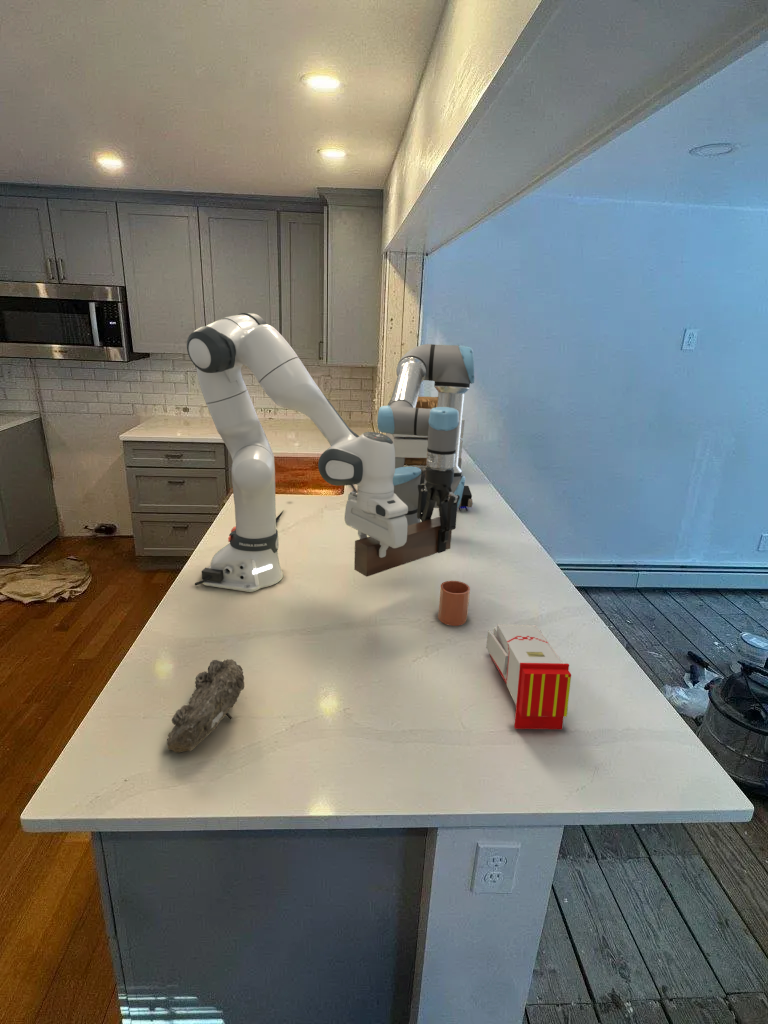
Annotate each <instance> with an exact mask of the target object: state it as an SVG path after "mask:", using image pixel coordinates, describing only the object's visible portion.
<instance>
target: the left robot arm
mask: <svg viewBox="0 0 768 1024" xmlns="http://www.w3.org/2000/svg"><path fill="white" fill-rule="evenodd" d="M186 351H187V355H188V357H189V359H190V361H191V363H192V364H193V365H194V366H195V369H196V375H197V380H198V383H199V388H200V391H201V394H202V397H203V399H204V402H205V404H206V406H207V409H208V411H209V414H210V416H211V419H212V421H213V424H214V427H215V429H216V431H217V433H218V434H219V437H221V439H222V441H223V443H224V445H225V447H226V449H227V451H228V453H229V455H230V457H231V458H230V459H231V461H232V462H231V463H232V464H231V484H232V494H233V502H234V518H235V526H233V527H232V528H231V530H230V533H229V535H228V538H227V539H228V540H227V542H228V543H227V544H226V545H225V546H224V547H222V548H220V549H219V550H218V551H217V552H215V553H214V555H213V557H212V559H211V562H210V566H208V567H205V568H203V569H202V570H201V580H200V581H197V582H194V585H195V586H198V585H201V584H202V585H204V586H207V587H213V588H221V589H226V590H234V591H239V592H240V591H241V592H246V593H253V592H256V591H258V590H261V589H263V588H268V587H271V586H274V585H276V584H278V583H279V582H280V581H281V580H283V577H284V573H283V571H282V567H281V564H280V558H279V552H278V551H279V545H280V543H279V532H278V529H277V523H276V518H277V504H276V499H277V498H276V465H275V463H276V462H275V454H274V452H273V449H272V446H271V443H270V441H269V439H268V436H267V434H266V432H265V430H264V427H263V426H262V425H263V424H262V422H261V421H260V418H259V416H258V414H257V411H256V409H255V405H254V403H253V400H252V398H251V394H250V393H249V390H248V386H247V385H246V382H245V380H244V378H243V374H242V367H243V366H245V367H247V368H248V369H249V370H250V372H251V373H252V374H253V377H254V378H255V379H256V381H257V382H258V384H259V385H260V387H261V389H262V390H263V391H264V393H265V394H266V395H267V396H268V398H270V399H271V400H272V402H274V403H275V404H276V406H279V407H281V408H283V409H287V410H293V411H296V412H299V413H301V414H303V415H305V416H306V417H307V418H308V419H310V420H311V421H312V422H313V424H314V425H315V426H316V427H317V429H318V430H319V431H320V433H321V434H322V436H323V437H324V438H325V440H326V441H327V443H329V447H328V448H326V449H325V450H324V451H323V452H322V453H321V454H320V457H319V459H318V462H317V468H318V473H319V474H320V477H321V478H322V479H323V480H324V481H325V482H326V483H328V484H330V485H331V486H336V487H337V486H339V487H340V486H351V485H353V486H355V485H356V486H357V489H356V491H357V492H356V491H354V490H352V491H350V492H349V494H348V496H347V501H346V503H345V510H344V522H345V525H346V526H348V527H350V528H352V529H354V530H356V531H357V535H358V538H359V539H363V538H366V537H372V538H374V539H376V540H378V541H380V545H381V547H380V549H378V550H377V556H379V557H381V558H382V557H385V556H386V550H387V548H388V547H389V546H390V547H392V548H398V547H401V546H403V545H404V544H405V543H406V541H407V519H406V517H405V515H404V514H407V513H408V506H407V505H406V504H405V503H404V502H403V501H401V500H400V499H399V498H398V496H397V495H396V494H395V493H394V485H393V476H394V473H395V448H394V443H393V441H392V440H391V439H390V438H389V437H388V436H386V434H385V433H382V432H376V431H365V432H363V433H362V434H361V435H359V434H357V433H356V432H354V431H353V430H352V429H351V428H350V427H349V426H348V424H347V423H346V422H345V421H344V419H343V417H342V416H341V415H340V413H339V412H338V411H337V409H336V408H335V407H334V406H333V404H332V403H331V402H330V400H329V399H328V398H327V397H326V395H325V394H324V393H323V392H322V390H321V389H320V387H319V386H318V384H317V383H316V382H315V380H314V379H313V377H312V376H311V374H310V372H309V371H308V370H307V368H306V367H305V365H304V363H303V361H302V360H301V359H300V357H299V356H298V354H297V353H296V351H295V350H294V349H293V348H292V346H291V345H290V344H289V342H288V341H287V340H286V339H285V337H284V336H283V335H282V334H281V333H280V332H279V331H278V330H277V329H276V328H275V327H274V326H272V325H270V324H268V323H267V322H266V321H265V319H264V318H263V317H261V315H258V314H257V313H253V312H240V313H238V314H235V315H229V316H225V317H222V318H219V319H218V320H215V321H213V322H211V323H209V324H207V325H203V326H200V327H198V328H196V329H195V330H193V331H192V332H191V333H190V334H189V335H188V337H187V339H186Z"/></svg>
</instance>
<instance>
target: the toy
mask: <svg viewBox="0 0 768 1024" xmlns="http://www.w3.org/2000/svg"><path fill="white" fill-rule="evenodd" d="M486 636H487V637H486V638H487V639H486V644H485V645H486V646H485V649H486V650H487V652H488V653H489V656H490V658H491V660H492V661H493V663H494V665H495V667H496V669H497V670H498V672H499V674H500V676H501V678H502V679H503V681H504V683H505V684H506V687H507V689H508V691H509V694H510V696H511V698H512V700H513V702H514V704H515V715H514V730H563V723H564V717H565V718H566V717H567V716H568V709H569V699H570V692H571V691H570V690H571V682H572V681H571V680H572V673H571V671H569V670H570V669H569V668H570V664H569V663H564V662H563V661H562V659H561V658H560V657H559V655H558V654H557V652H556V651H555V650H554V648H553V647H552V646H551V644H550V643H549V641H548V640H547V638H546V637H545V636H544V634H543V633H542V631H541V630H540V629H539V628H538V626H537V625H536V624H498V623H497V625H496V626H493V631H492V630H488V631H487V635H486Z"/></svg>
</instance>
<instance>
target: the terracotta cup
mask: <svg viewBox="0 0 768 1024" xmlns="http://www.w3.org/2000/svg"><path fill="white" fill-rule="evenodd" d="M470 594H471V587H470V586H469V585H468V584H467V583H465V582H463V581H459V580H446V581H444V582H442V583H441V584H440V588H439V599H438V609H437V610H438V612H437V619H438V621H439V622H441V623H442V624H445V625H446V626H452V627H456V626H457V627H459V626H462V625H464V624H466V623H467V620H468V613H469V606H470V605H469V604H470Z"/></svg>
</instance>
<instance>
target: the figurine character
mask: <svg viewBox="0 0 768 1024" xmlns="http://www.w3.org/2000/svg"><path fill="white" fill-rule="evenodd" d="M472 497H473V495H472V492H471V489H470V486H469V485H464V489H463V493H462V498H461V502H460V505H459V507H458V508H457V510H458V511H459V512H461V511H462V510H461V509H465V511H466V512H468V511H469V510H468V508H472V507H473V498H472Z"/></svg>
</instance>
